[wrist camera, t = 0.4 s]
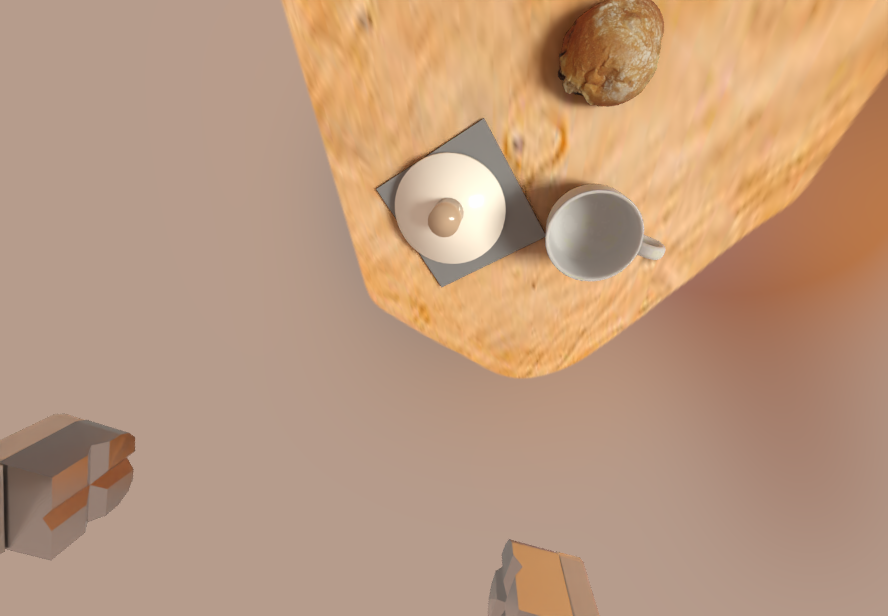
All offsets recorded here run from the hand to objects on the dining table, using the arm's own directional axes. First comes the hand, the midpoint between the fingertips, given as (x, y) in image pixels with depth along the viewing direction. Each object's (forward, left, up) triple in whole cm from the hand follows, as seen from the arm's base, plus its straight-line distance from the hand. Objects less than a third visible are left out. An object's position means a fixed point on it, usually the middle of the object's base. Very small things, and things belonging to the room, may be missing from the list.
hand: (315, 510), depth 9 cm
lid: (+10, +5, -50) cm, 51 cm away
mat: (+9, +6, -50) cm, 51 cm away
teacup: (-6, +16, -50) cm, 53 cm away
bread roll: (-14, -1, -51) cm, 53 cm away
